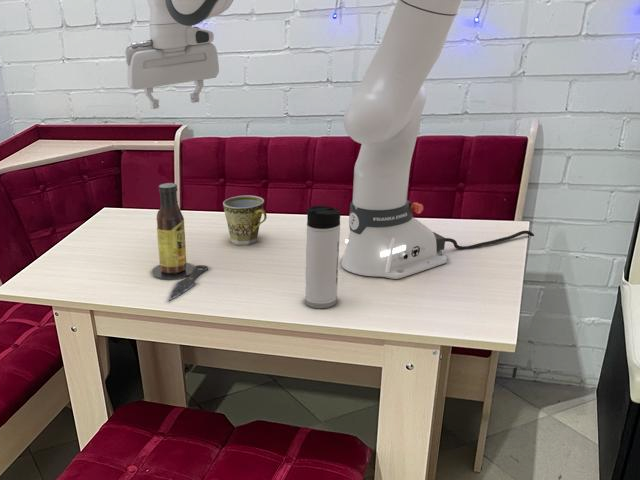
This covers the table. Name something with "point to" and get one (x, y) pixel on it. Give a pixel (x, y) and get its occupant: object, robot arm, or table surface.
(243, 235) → the ceramic cup
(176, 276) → the round mirror
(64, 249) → the table surface
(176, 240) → the sauce bottle
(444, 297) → the table surface
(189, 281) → the throwing knife
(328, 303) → the travel mug
